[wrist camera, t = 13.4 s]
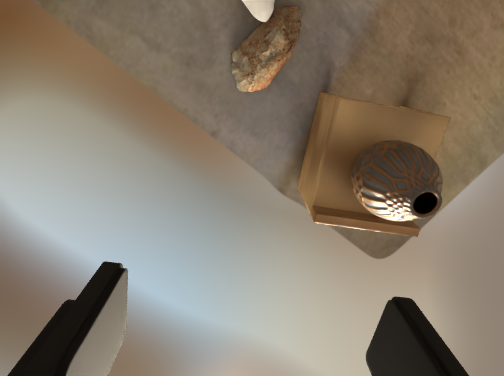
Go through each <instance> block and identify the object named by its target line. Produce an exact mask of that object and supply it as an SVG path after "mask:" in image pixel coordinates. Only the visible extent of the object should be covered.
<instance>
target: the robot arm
mask: <svg viewBox="0 0 504 376" xmlns="http://www.w3.org/2000/svg"><path fill="white" fill-rule="evenodd" d="M127 280H128V270H127V269H126V268H123V265H122V264H121V263H113V262H103V263H102V264H101V266H100V267H99V269H98V270H97V271H96V273H95V274H94V276H93V277H92V278H91V280H90V281H89V282H88V284H87V285H86V286H85V288H84V289H83V291H82V292H81V294H80V295H79V296H78V297H77V299H76V300H67V301H65V302H64V303H63V304H62V306H61V307H60V308H59V309H58V311H57V312H56V313H55V315H54V316H53V317H52V318H51V320H50V321H49V322H48V324H47V325H46V326H45V328H44V329H43V330H42V331H41V333H40V334H39V335H38V337H37V338H36V339H35V341H34V342H33V343H32V344H31V346H30V347H29V348H28V350H27V351H26V352H25V354H24V355H23V356H22V357H21V359H20V360H19V361H18V363H17V364H16V365H15V367H14V368H13V369H12V370H11V372H10V373H9V374H8V376H108V374H109V371H110V369H111V367H112V365H113V362H114V360H115V358H116V356H117V353H118V351H119V349H120V346H121V344H122V342H123V339H124V337H125V333H126V323H127V322H126V321H127V284H128V283H127V282H128V281H127ZM366 362H367V365H368V367H369V370H370V372H371V375H372V376H469V375H468V374H467V372H466V371H465V370H464V368H463V367H462V366H461V364H460V363H459V361H458V360H457V359H456V358H455V356H454V355H453V353H452V352H451V351H450V349H449V348H448V347H447V345H446V344H445V343H444V341H443V340H442V338H441V337H440V336H439V335H438V333H437V332H436V330H435V329H434V328H433V326H432V325H431V324H430V322H429V321H428V320H427V318H426V317H425V316H424V314H423V313H422V311H421V310H420V309H419V307H418V306H417V305H416V303H415V302H414V301H413V300H412V299H410V298H403V297H393V298H392V300H389V301H388V302H387V304H386V306H385V309H384V311H383V314H382V316H381V319H380V321H379V324H378V326H377V328H376V331H375V333H374V336H373V338H372V340H371V343H370V345H369V348H368V350H367V353H366Z"/></svg>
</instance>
